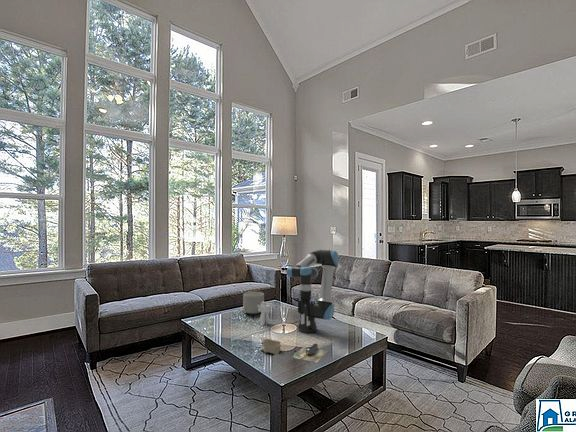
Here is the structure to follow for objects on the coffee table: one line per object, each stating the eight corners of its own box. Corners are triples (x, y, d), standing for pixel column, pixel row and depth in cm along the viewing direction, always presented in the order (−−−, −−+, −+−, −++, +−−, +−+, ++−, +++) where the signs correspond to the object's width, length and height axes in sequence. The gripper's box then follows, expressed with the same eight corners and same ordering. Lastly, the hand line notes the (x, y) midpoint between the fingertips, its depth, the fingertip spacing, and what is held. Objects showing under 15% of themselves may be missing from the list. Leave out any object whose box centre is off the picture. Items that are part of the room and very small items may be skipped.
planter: (243, 310, 306) (243, 291, 306) (263, 310, 308) (263, 291, 308) (242, 316, 287) (243, 296, 287) (264, 316, 289) (264, 296, 289)
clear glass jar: (269, 326, 262) (270, 304, 262) (255, 324, 266) (255, 302, 267) (275, 322, 273) (275, 300, 274) (260, 320, 278) (260, 299, 278)
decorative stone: (261, 348, 217) (261, 336, 217) (282, 351, 213) (282, 338, 213) (257, 353, 209) (257, 341, 209) (278, 356, 205) (278, 343, 206)
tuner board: (290, 358, 202) (290, 356, 202) (302, 347, 218) (302, 345, 219) (317, 364, 193) (317, 362, 193) (327, 353, 210) (327, 350, 210)
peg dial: (308, 360, 196) (308, 355, 196) (299, 358, 199) (299, 353, 199) (320, 348, 213) (320, 344, 213) (311, 347, 216) (312, 342, 216)
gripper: (292, 289, 220) (292, 323, 220) (312, 292, 208) (312, 328, 208) (299, 287, 225) (299, 320, 225) (319, 291, 214) (319, 326, 214)
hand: (305, 324), depth 217 cm, fingers open, 4 cm apart
